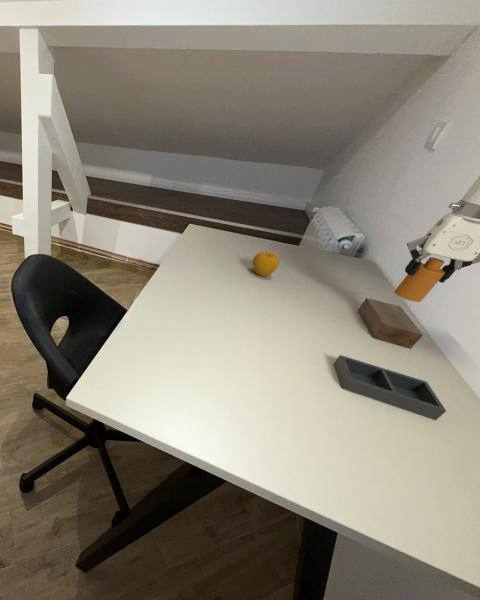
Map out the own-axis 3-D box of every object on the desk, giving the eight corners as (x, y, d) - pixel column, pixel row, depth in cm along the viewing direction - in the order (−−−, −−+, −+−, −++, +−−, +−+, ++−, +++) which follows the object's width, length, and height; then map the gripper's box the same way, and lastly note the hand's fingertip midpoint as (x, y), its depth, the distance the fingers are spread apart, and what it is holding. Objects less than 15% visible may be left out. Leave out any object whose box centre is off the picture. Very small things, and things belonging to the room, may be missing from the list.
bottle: (416, 294, 90) (445, 258, 83) (425, 304, 85) (457, 267, 78) (391, 288, 91) (418, 252, 85) (398, 297, 87) (428, 261, 80)
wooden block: (390, 319, 99) (400, 306, 97) (410, 348, 87) (423, 335, 84) (357, 310, 102) (366, 297, 99) (372, 337, 90) (383, 324, 87)
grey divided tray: (331, 365, 78) (339, 354, 76) (416, 392, 73) (426, 381, 71) (340, 390, 71) (349, 379, 69) (433, 421, 66) (446, 411, 64)
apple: (243, 270, 120) (252, 249, 115) (258, 267, 123) (268, 247, 118) (260, 281, 113) (271, 259, 108) (277, 278, 116) (288, 257, 111)
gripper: (439, 208, 74) (390, 273, 84) (535, 224, 69) (471, 292, 79) (425, 201, 80) (380, 263, 90) (513, 215, 75) (456, 280, 85)
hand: (423, 276), depth 84 cm, fingers closed on bottle, 6 cm apart
